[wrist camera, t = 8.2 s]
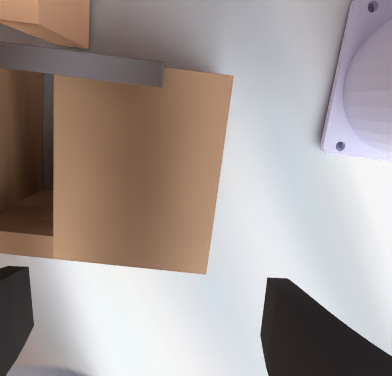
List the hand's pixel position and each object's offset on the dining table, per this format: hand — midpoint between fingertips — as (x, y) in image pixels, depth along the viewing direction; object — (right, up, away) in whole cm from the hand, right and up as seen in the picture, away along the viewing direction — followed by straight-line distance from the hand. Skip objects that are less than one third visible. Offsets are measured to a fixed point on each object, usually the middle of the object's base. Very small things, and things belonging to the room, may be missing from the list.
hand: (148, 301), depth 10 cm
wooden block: (-6, +6, +9) cm, 12 cm away
